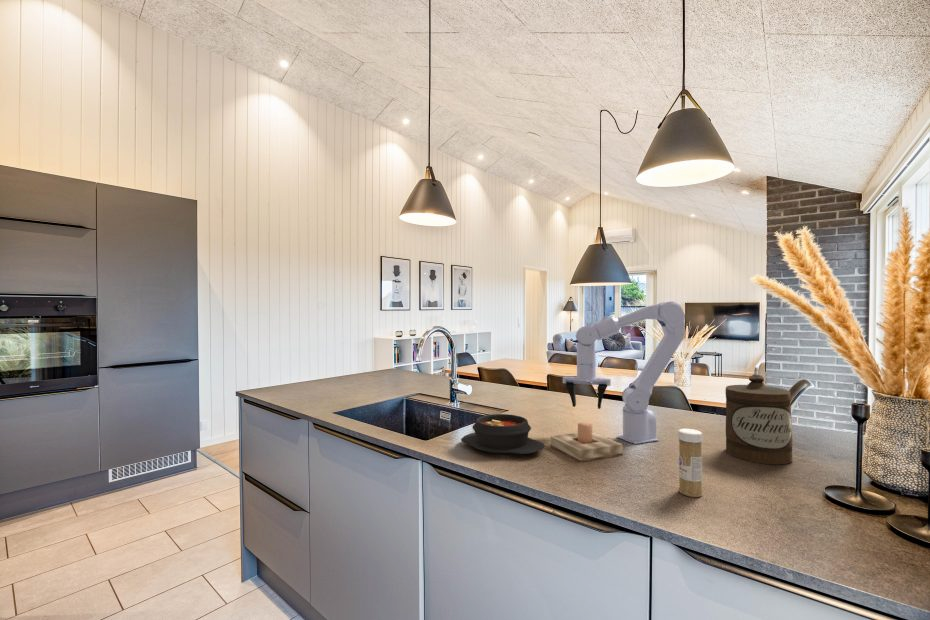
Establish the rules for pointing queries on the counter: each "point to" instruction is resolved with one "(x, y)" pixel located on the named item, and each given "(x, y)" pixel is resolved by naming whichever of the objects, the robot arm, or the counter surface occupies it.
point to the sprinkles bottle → (690, 462)
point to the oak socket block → (586, 447)
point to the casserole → (502, 435)
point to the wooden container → (759, 422)
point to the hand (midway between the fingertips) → (586, 407)
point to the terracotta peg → (585, 433)
